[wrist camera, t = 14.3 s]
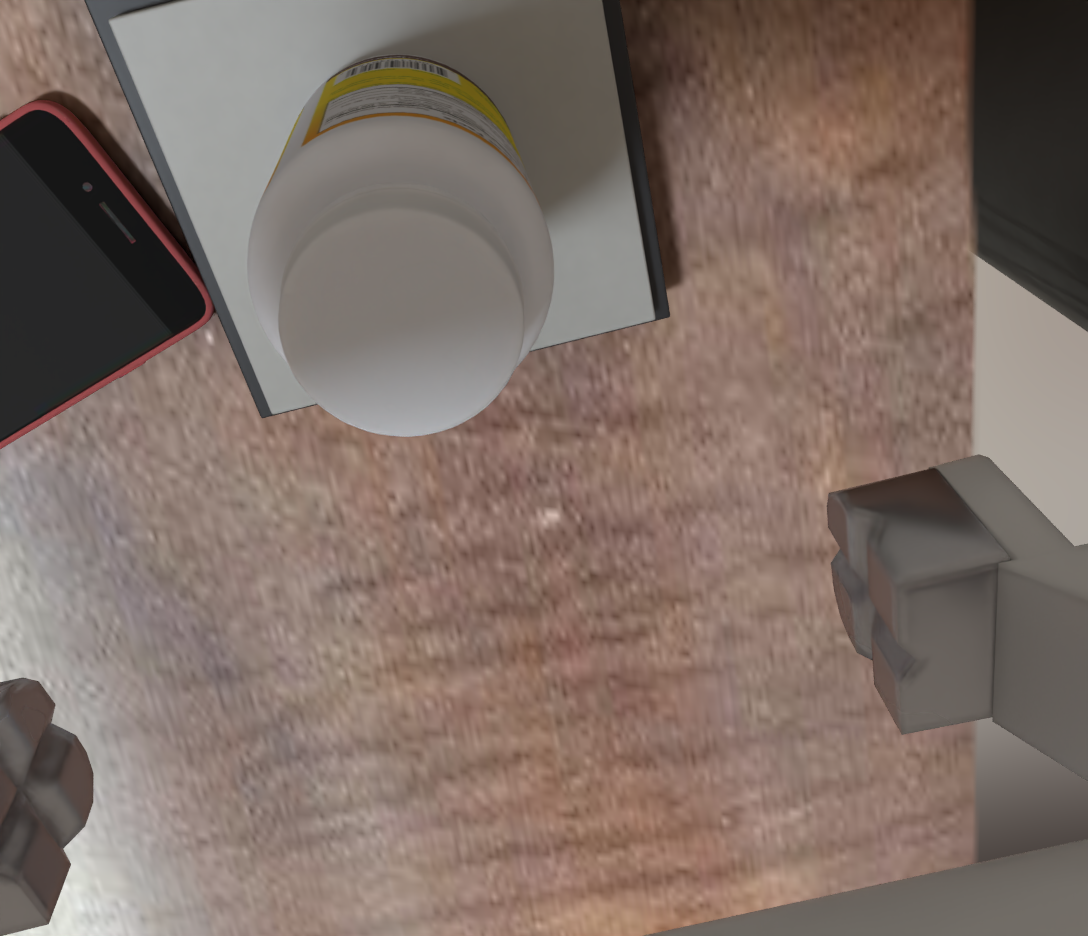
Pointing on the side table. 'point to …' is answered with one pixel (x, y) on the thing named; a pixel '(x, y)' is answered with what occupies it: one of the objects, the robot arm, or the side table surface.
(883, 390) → the side table surface
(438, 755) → the side table surface
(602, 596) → the side table surface
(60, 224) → the smartphone
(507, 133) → the supplement bottle
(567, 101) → the scale
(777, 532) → the side table surface
